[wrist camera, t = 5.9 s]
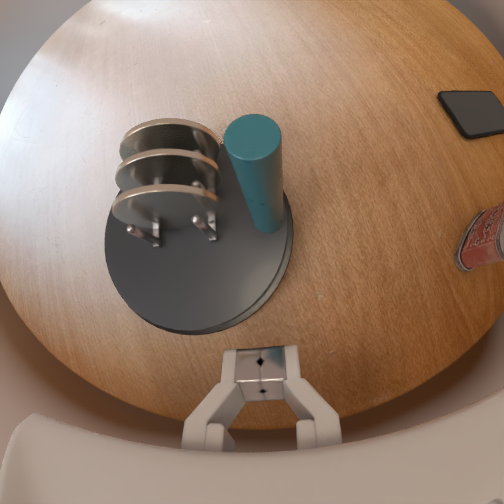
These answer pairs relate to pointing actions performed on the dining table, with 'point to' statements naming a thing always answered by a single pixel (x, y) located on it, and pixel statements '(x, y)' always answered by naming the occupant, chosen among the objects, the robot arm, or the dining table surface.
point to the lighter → (482, 240)
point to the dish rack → (197, 220)
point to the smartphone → (474, 112)
